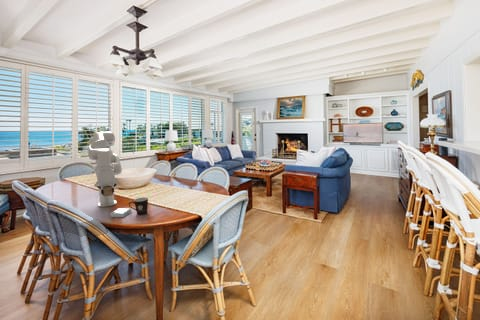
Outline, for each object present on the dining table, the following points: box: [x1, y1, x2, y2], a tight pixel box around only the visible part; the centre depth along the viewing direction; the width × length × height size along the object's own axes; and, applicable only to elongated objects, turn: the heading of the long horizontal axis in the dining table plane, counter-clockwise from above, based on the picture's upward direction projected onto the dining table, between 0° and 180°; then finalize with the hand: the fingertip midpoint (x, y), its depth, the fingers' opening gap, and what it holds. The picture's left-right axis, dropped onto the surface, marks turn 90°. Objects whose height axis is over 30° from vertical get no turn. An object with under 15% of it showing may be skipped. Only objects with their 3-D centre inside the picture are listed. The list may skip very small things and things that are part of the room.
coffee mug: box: [128, 197, 149, 216], centre depth 153 cm, size 12×9×10 cm
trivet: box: [109, 207, 132, 218], centre depth 153 cm, size 9×9×3 cm
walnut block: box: [103, 185, 114, 197], centre depth 155 cm, size 5×5×6 cm
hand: (108, 193), depth 156 cm, fingers closed on walnut block, 5 cm apart
